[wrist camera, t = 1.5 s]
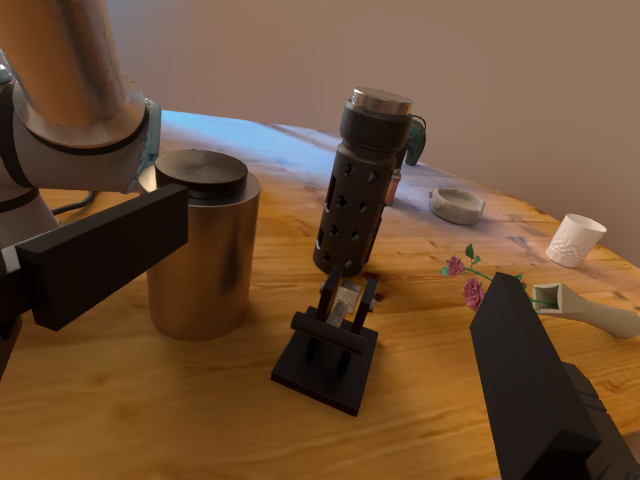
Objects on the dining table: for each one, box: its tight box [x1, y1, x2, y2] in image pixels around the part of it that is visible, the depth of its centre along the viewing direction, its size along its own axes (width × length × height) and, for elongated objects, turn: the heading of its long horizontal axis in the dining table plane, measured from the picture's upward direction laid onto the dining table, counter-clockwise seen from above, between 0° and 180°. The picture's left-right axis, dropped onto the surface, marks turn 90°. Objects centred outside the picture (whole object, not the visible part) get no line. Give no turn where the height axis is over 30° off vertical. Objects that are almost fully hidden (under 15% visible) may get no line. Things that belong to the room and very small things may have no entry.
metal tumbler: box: [138, 150, 261, 341], centre depth 40 cm, size 12×12×20 cm
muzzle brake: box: [313, 87, 413, 277], centre depth 52 cm, size 10×28×10 cm
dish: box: [429, 188, 485, 225], centre depth 88 cm, size 14×14×5 cm
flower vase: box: [441, 244, 640, 339], centre depth 53 cm, size 12×12×35 cm
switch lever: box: [291, 280, 367, 357], centre depth 32 cm, size 12×6×2 cm, turn 162°
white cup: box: [545, 214, 607, 268], centre depth 76 cm, size 8×8×10 cm
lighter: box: [385, 168, 401, 206], centre depth 86 cm, size 8×3×10 cm, turn 176°
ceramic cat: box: [405, 115, 426, 166], centre depth 114 cm, size 20×6×20 cm, turn 103°
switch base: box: [271, 266, 378, 417], centre depth 38 cm, size 12×10×12 cm
